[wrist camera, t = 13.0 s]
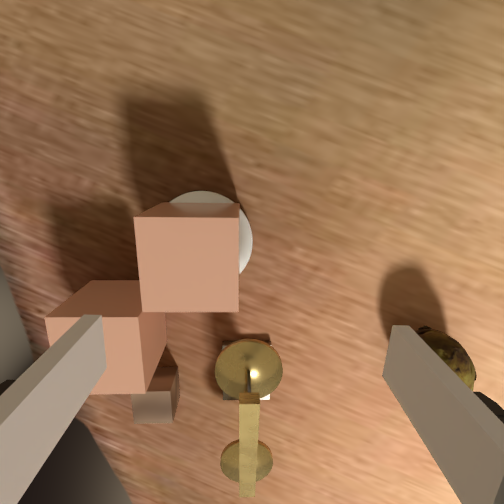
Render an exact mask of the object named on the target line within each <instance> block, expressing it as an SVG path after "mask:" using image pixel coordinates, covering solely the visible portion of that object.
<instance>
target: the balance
mask: <svg viewBox="0 0 504 504" xmlns="http://www.w3.org/2000/svg"><path fill="white" fill-rule="evenodd" d="M282 373H283V369H282V363H281V359H280V356H279V354H278V353H277V351H276V350H275V349H274V348H273V347H272V346H271V341H261V340H257V339H242V340H238V341H223V344H222V351H221V352H220V354H219V356H218V358H217V360H216V365H215V378H216V381H217V383H218V385H219V387H220V388H221V389H222V390H223V400H239V440H236V441H233V442H231V443H230V444H228V445H227V446H226V447H225V449H224V450H223V452H222V454H221V463H220V464H221V469H222V471H223V473H224V474H225V475H226V476H227V477H228V478H229V479H231V480H233V481H235V482H239V497H255V484H256V481H259V480H261V479H263V478H264V477H265V476H267V475H268V474H269V472H270V471H271V469H272V465H273V459H272V453H271V451H270V449H269V447H268V446H267V445H266V444H264V443H263V442H261V441H259V440H258V431H259V413H260V400H270V393H271V392H273V391H274V390H275V389H276V388H277V386H278V385H279V383H280V381H281V378H282Z"/></svg>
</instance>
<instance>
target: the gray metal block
mask: <svg viewBox="0 0 504 504" xmlns="http://www.w3.org/2000/svg"><path fill="white" fill-rule="evenodd" d="M179 398H180V389H179V374H178V367H157V368H156V370H155V372H154V375H153V377H152V380H151V382H150V384H149V387H148V389H147V392H146V394H131V400H132V409H133V417H134V424H144V423H173V420H174V416H175V413H176V409H177V405H178V402H179Z"/></svg>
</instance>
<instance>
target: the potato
mask: <svg viewBox="0 0 504 504" xmlns="http://www.w3.org/2000/svg"><path fill="white" fill-rule="evenodd" d="M416 333H417V334H418V335H419V336H420V338H421V339H422V340H423V341H424V342H425V343H426V344H427V345H428V346H429V347H430V348H431V349H432V350H433V351H434V352H435V353H436V354H437V355H438V356H439V357H440V358H441V359H442V360H443V361H444V362H445V363H446V364H447V366H448V367H449V368H450V369H451V370H452V371H453V372H454V373H455V374H456V375H457V376H458V377H459V378H460V379H461V380H462V381H463V382H464V383H465V384H466V385H467V386H468V387H469V388H470V389H471V390H472V391H473V386H474V381H475V380H476V378H477V377H476V371H475V368H474V365H473V362H472V361H471V359H470V357H469V356H468V354H467V352H466V351H465V349H464V348H463V347H462V346H461V344H460V343H459V342H457V341H456V340H455V339H453V338H451V337H450V336H448V335H447V334H445V333H443V332H441V331H438V330H434V329H431V328H430V327H428V326H424V327H421V328H419V331H416Z"/></svg>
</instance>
